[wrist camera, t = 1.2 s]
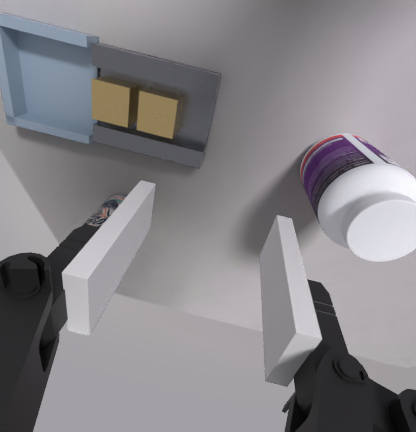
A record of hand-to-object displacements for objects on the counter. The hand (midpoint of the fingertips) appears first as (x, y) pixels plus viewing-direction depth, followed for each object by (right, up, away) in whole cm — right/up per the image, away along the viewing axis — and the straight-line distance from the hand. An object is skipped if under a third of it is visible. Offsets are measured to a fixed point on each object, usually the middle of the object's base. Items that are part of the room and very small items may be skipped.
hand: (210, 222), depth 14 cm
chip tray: (-17, +16, +18) cm, 29 cm away
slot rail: (-6, +13, +18) cm, 23 cm away
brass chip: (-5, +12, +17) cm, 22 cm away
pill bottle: (+15, +6, +19) cm, 25 cm away
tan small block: (-10, +14, +17) cm, 24 cm away
